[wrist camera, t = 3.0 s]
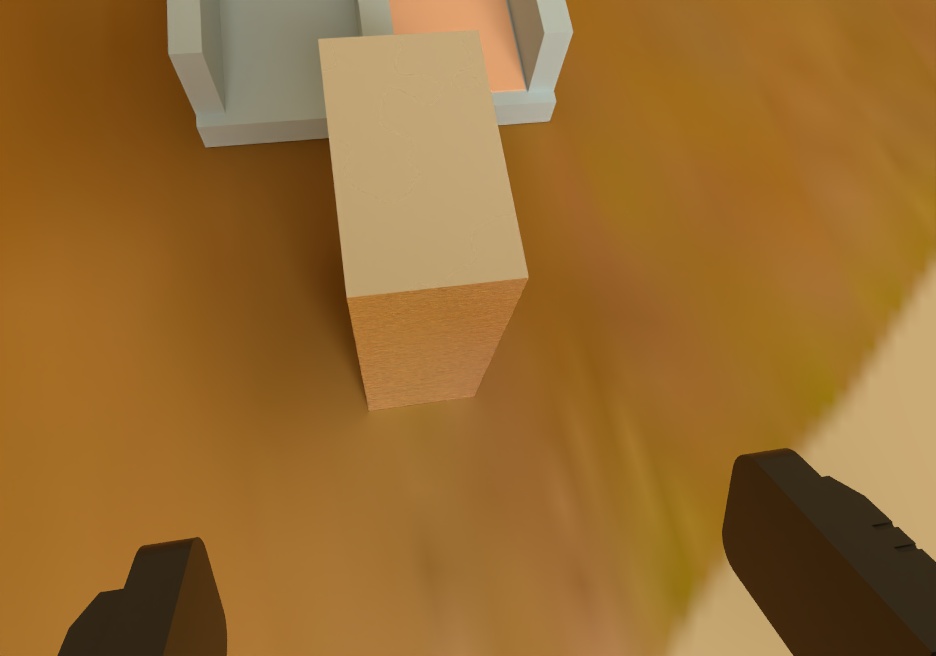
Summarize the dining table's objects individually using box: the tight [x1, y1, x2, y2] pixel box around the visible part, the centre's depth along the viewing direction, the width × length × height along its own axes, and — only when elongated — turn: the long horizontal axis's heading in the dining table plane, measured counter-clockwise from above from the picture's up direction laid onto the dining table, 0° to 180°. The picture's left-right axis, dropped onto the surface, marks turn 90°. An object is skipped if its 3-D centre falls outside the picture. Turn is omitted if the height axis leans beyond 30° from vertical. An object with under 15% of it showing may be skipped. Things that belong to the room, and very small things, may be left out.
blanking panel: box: [318, 30, 529, 411], centre depth 18 cm, size 6×4×10 cm, turn 9°
